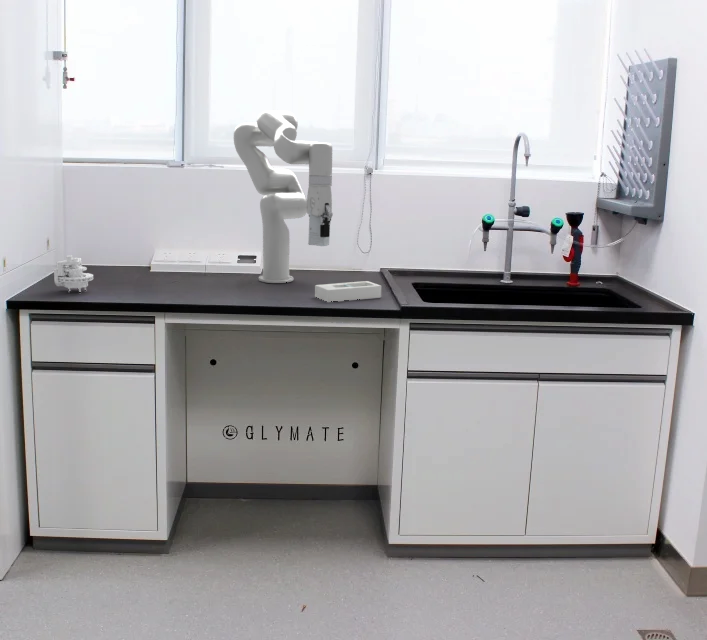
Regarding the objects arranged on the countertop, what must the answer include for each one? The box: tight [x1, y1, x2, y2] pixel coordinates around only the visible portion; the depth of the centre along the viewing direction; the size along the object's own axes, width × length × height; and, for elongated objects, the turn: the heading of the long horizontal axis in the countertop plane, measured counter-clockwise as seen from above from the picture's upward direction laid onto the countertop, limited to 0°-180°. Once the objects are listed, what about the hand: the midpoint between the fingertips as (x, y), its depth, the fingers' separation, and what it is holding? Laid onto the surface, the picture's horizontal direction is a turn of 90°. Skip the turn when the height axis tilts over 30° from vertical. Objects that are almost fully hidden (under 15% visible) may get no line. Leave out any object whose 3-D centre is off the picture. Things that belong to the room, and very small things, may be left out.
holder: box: [314, 280, 382, 303], centre depth 261 cm, size 9×20×4 cm, turn 119°
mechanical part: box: [53, 254, 94, 293], centre depth 258 cm, size 11×12×12 cm
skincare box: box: [307, 209, 330, 247], centre depth 261 cm, size 6×4×12 cm
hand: (319, 235), depth 262 cm, fingers closed on skincare box, 7 cm apart
